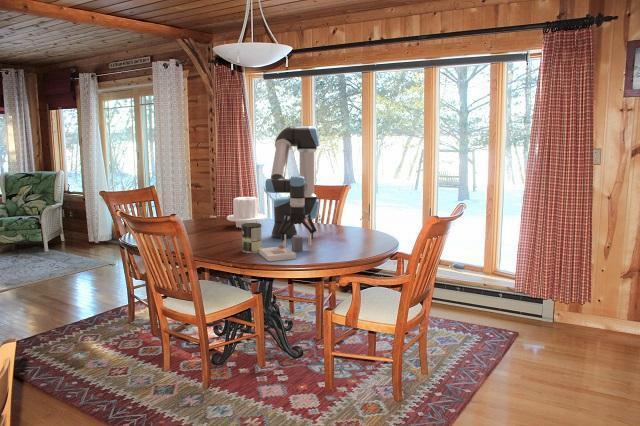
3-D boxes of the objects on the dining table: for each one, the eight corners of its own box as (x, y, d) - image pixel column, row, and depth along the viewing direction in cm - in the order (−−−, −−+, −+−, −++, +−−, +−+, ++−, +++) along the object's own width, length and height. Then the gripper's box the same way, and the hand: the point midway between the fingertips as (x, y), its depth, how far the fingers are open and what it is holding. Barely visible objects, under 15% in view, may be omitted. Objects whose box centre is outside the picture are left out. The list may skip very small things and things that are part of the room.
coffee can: (241, 253, 269) (240, 226, 267) (242, 248, 279) (242, 222, 277) (261, 252, 270) (261, 226, 267) (262, 248, 280) (261, 222, 278)
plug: (291, 250, 275) (291, 235, 274) (299, 249, 277) (299, 234, 275) (294, 252, 271) (294, 237, 270) (302, 251, 272) (302, 236, 271)
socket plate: (259, 253, 269) (259, 247, 268) (285, 250, 274) (285, 244, 273) (268, 261, 252) (268, 254, 251) (296, 258, 257) (295, 252, 256)
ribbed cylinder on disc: (219, 228, 339) (218, 199, 336) (244, 222, 360) (243, 194, 357) (249, 231, 326) (248, 201, 323) (273, 225, 347) (272, 197, 344)
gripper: (275, 207, 262) (276, 249, 265) (322, 206, 271) (322, 245, 274) (271, 206, 269) (272, 246, 272) (317, 204, 278) (317, 243, 281)
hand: (297, 246), depth 273 cm, fingers open, 13 cm apart
